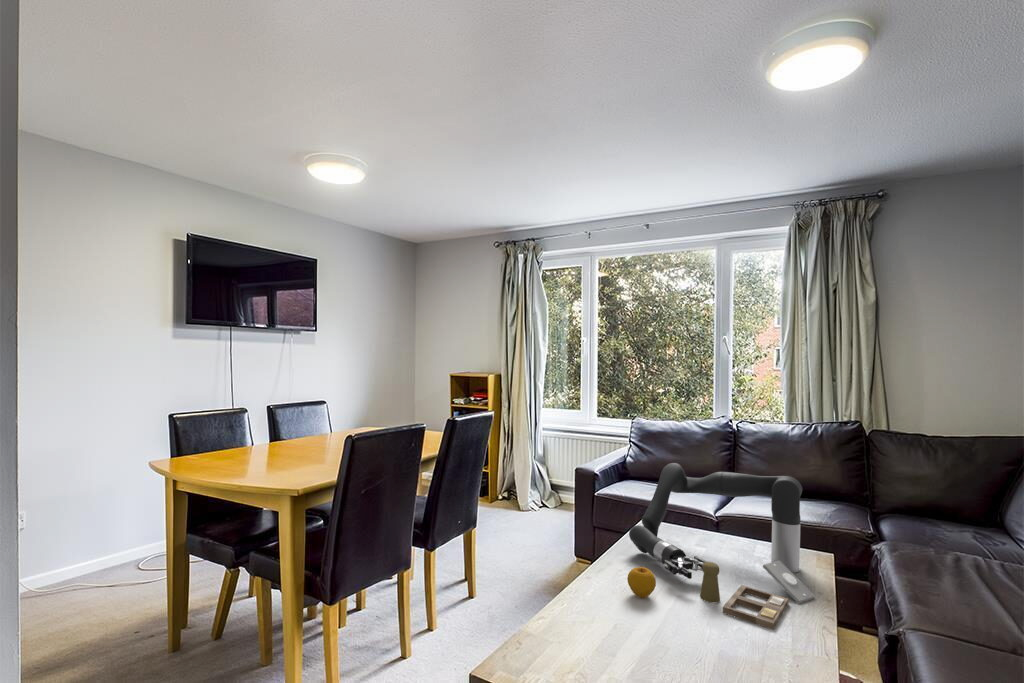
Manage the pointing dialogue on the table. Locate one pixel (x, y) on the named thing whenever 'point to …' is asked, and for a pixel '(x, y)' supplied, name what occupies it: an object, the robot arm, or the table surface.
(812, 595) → the light switch
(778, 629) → the table surface
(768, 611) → the wooden frame
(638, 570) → the apple
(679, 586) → the table surface
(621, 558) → the table surface
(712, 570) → the olive pawn figure
